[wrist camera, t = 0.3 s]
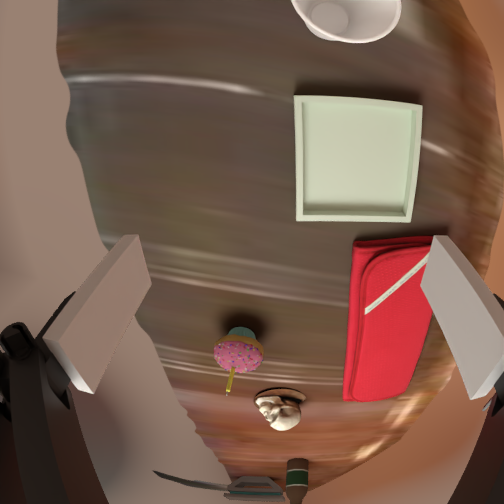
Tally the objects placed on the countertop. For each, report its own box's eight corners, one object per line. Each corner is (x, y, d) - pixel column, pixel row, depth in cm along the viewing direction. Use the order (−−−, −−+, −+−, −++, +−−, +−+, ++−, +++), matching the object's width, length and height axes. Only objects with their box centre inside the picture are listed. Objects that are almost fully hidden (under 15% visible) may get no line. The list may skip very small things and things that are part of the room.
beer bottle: (293, 456, 84) (290, 518, 63) (312, 459, 85) (311, 518, 64) (283, 462, 88) (278, 520, 67) (301, 465, 89) (299, 521, 68)
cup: (378, 3, 24) (411, -22, 14) (357, 67, 29) (386, 60, 20) (299, -25, 23) (305, -63, 14) (277, 40, 28) (274, 20, 19)
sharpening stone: (284, 476, 99) (282, 498, 89) (286, 480, 103) (284, 501, 93) (226, 475, 104) (223, 496, 94) (231, 479, 107) (228, 499, 98)
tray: (293, 95, 32) (294, 95, 30) (415, 104, 30) (422, 105, 28) (295, 213, 40) (296, 221, 38) (405, 215, 38) (410, 222, 36)
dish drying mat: (340, 395, 62) (342, 408, 59) (347, 239, 42) (352, 253, 38) (404, 386, 59) (407, 398, 56) (443, 230, 39) (453, 242, 36)
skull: (244, 409, 66) (251, 426, 56) (260, 373, 68) (270, 384, 58) (287, 422, 67) (300, 438, 57) (304, 387, 69) (319, 399, 59)
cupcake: (252, 355, 56) (245, 408, 45) (211, 339, 54) (197, 392, 44) (273, 329, 51) (269, 386, 41) (229, 311, 50) (216, 367, 40)
